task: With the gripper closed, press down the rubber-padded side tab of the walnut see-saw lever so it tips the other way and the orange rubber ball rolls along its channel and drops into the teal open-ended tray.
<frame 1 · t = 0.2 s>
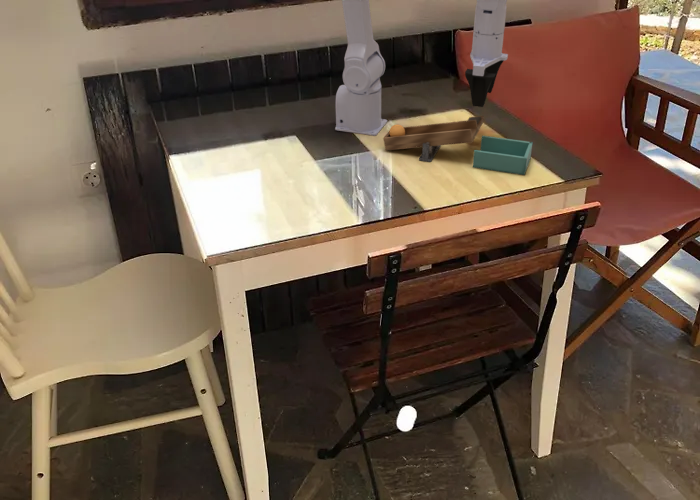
hand: (482, 98, 144), 10 cm above the table, fingers open, 7 cm apart
ball: (397, 132, 146), point 3 cm above the table, tilted 20°, touching lever
teal open-ended tray: (501, 162, 142), on the table
lever: (433, 129, 146), point 4 cm above the table, hinge at -14.0°, touching ball
fulcrum: (430, 152, 146), on the table
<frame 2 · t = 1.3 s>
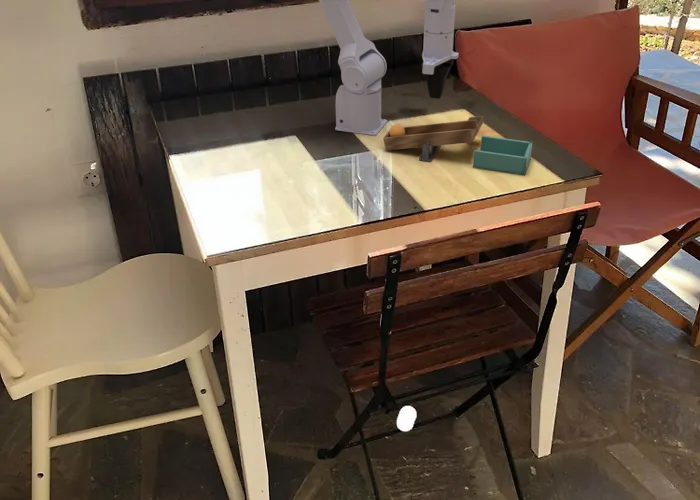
hand: (435, 97, 146), 9 cm above the table, fingers closed
nothing on the table moved.
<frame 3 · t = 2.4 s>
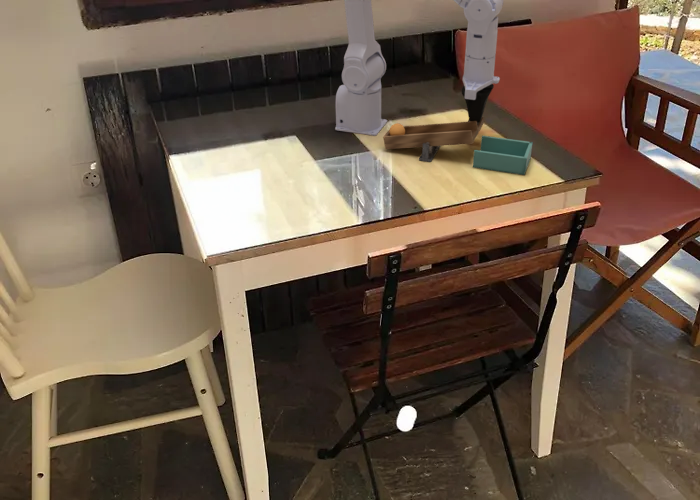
hand: (475, 120, 145), 5 cm above the table, fingers closed, pressing on lever
lever: (433, 129, 146), point 4 cm above the table, hinge at -12.2°, touching ball, gripper
everything else where it was.
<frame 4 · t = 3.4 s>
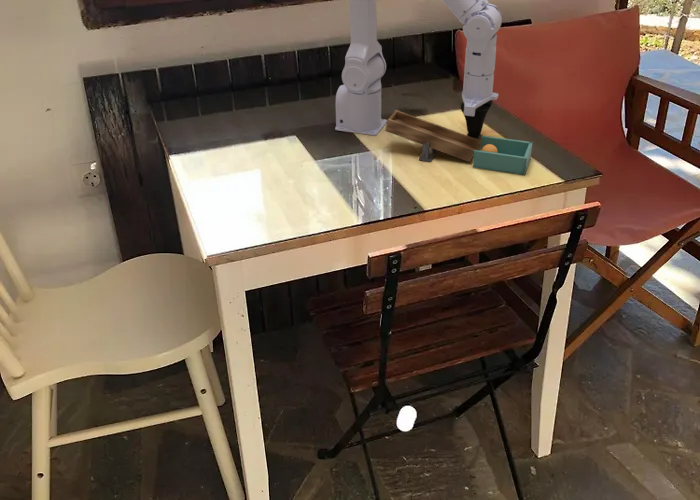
hand: (474, 135, 147), 2 cm above the table, fingers closed, pressing on lever
ball: (489, 152, 141), point 2 cm above the table, tilted 49°, touching teal open-ended tray
lever: (435, 130, 146), point 4 cm above the table, hinge at 13.2°, touching gripper
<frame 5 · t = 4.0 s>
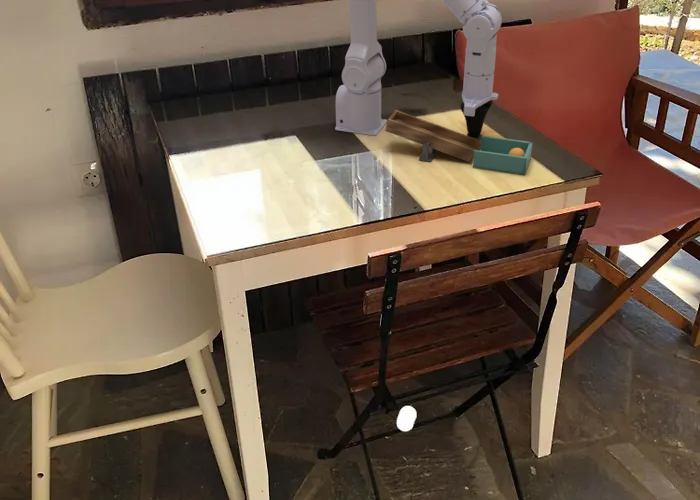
hand: (474, 135, 147), 2 cm above the table, fingers closed, pressing on lever
ball: (516, 156, 140), point 2 cm above the table, tilted 169°, touching teal open-ended tray
lever: (435, 130, 146), point 4 cm above the table, hinge at 13.3°, touching gripper
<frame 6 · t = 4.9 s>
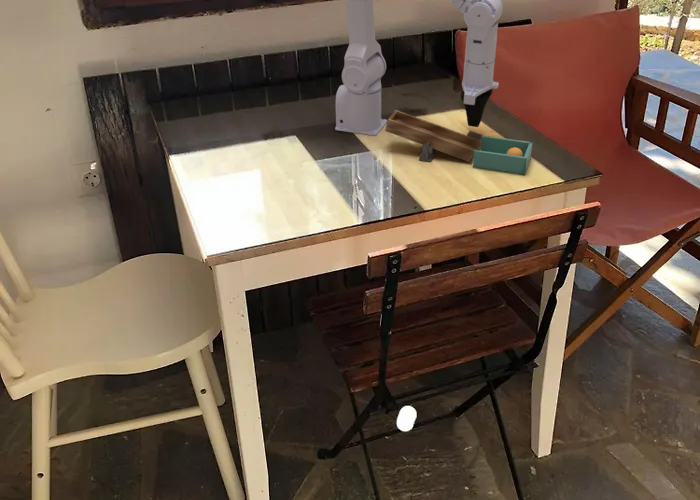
hand: (473, 125, 146), 4 cm above the table, fingers closed
ball: (514, 155, 140), point 2 cm above the table, tilted 155°, touching teal open-ended tray
lever: (435, 130, 146), point 4 cm above the table, hinge at 13.3°
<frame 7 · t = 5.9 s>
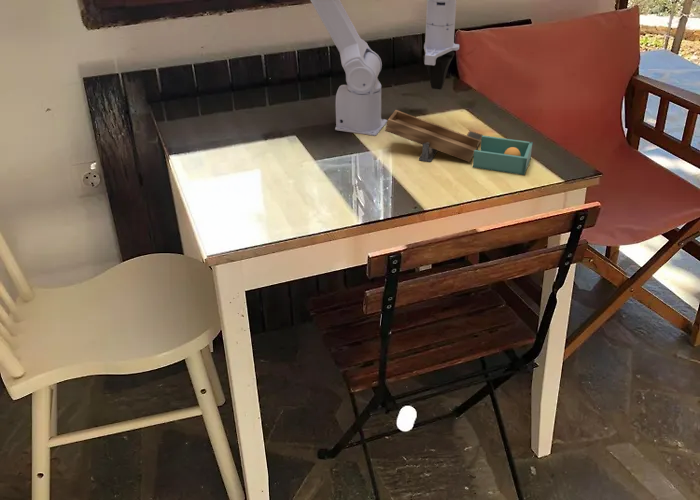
hand: (437, 87, 150), 9 cm above the table, fingers closed
ball: (512, 155, 140), point 2 cm above the table, tilted 139°, touching teal open-ended tray
everything else where it was.
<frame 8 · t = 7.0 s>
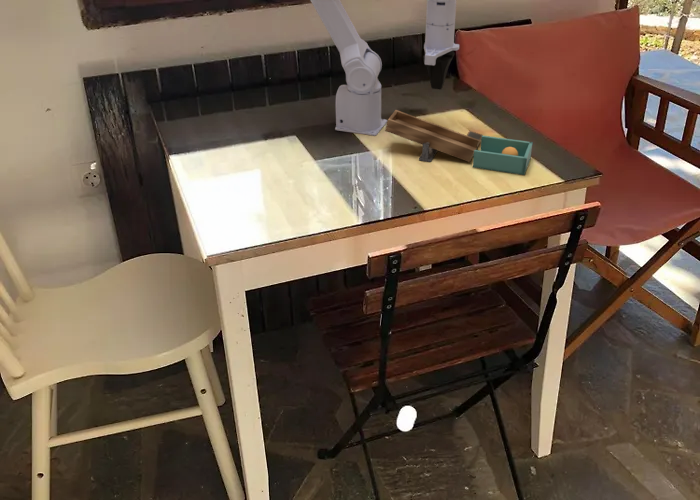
hand: (437, 87, 150), 9 cm above the table, fingers closed
ball: (509, 155, 140), point 2 cm above the table, tilted 122°, touching teal open-ended tray
everything else where it was.
at the end: ball inside the target area on the teal open-ended tray (1.7 cm from its centre), point 1.9 cm above the teal open-ended tray's base; lever at +13° (first picture: -14°) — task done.
